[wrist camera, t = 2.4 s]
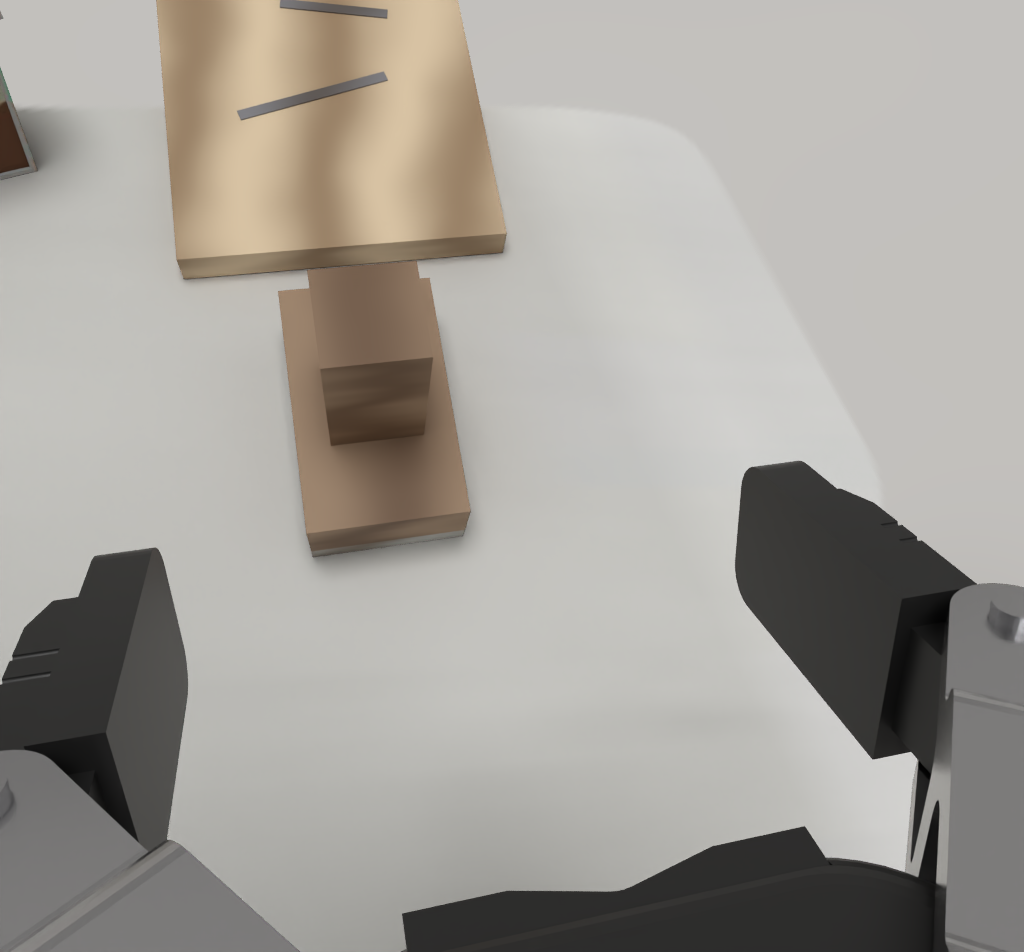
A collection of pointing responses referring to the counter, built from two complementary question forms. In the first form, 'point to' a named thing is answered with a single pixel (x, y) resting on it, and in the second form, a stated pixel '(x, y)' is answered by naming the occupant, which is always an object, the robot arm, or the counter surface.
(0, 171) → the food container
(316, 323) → the block
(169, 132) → the oak board
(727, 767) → the counter surface
